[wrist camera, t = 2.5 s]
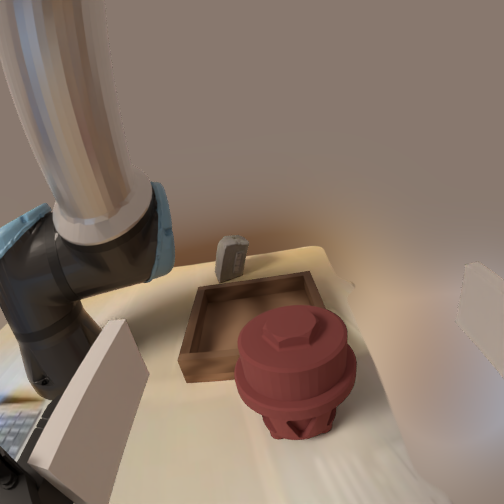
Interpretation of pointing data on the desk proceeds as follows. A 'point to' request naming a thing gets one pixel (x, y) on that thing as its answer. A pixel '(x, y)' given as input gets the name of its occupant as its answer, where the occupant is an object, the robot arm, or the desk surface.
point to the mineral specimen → (230, 257)
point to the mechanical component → (295, 369)
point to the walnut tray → (235, 320)
